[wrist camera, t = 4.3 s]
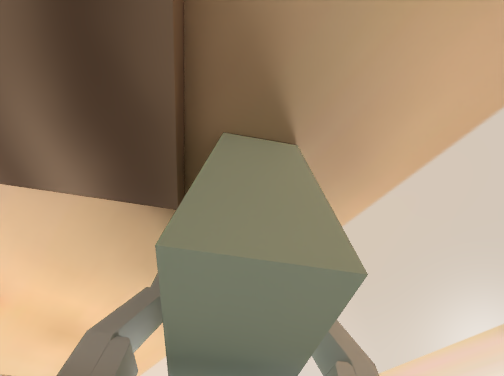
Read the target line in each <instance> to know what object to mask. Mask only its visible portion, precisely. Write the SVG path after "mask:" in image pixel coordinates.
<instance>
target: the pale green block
mask: <svg viewBox="0 0 504 376" xmlns="http://www.w3.org/2000/svg"><path fill="white" fill-rule="evenodd" d="M155 247H156V257H157V267H158V277H159V287H160V297H161V307H162V317H163V327H164V336H165V346H166V356H167V365H168V376H298V374H299V373H300V371H301V370H302V368H303V367H304V366H305V364H306V363H307V361H308V360H309V358H310V357H311V356H312V354H313V353H314V351H315V350H316V348H317V347H318V345H319V344H320V343H321V341H322V340H323V338H324V337H325V335H326V334H327V333H328V331H329V330H330V328H331V327H332V325H333V324H334V322H335V321H336V320H337V318H338V316H339V315H340V314H341V312H342V311H343V309H344V308H345V307H346V305H347V304H348V302H349V301H350V300H351V298H352V297H353V295H354V294H355V292H356V291H357V289H358V288H359V287H360V285H361V284H362V282H363V281H364V279H365V278H366V277H367V275H368V274H367V272H366V270H365V269H364V267H363V265H362V263H361V261H360V259H359V258H358V256H357V254H356V252H355V250H354V248H353V246H352V245H351V243H350V241H349V239H348V237H347V235H346V234H345V232H344V231H343V228H342V226H341V224H340V223H339V221H338V219H337V217H336V215H335V213H334V212H333V210H332V208H331V206H330V204H329V202H328V201H327V199H326V197H325V195H324V193H323V191H322V190H321V188H320V186H319V184H318V182H317V180H316V179H315V177H314V175H313V173H312V171H311V169H310V168H309V166H308V164H307V162H306V160H305V158H304V157H303V155H302V153H301V151H300V149H299V147H298V146H297V145H293V144H287V143H281V142H275V141H270V140H264V139H258V138H252V137H247V136H241V135H235V134H229V133H224V132H223V134H222V136H221V137H220V139H219V141H218V142H217V144H216V145H215V147H214V149H213V150H212V152H211V154H210V155H209V157H208V159H207V160H206V162H205V164H204V165H203V167H202V169H201V170H200V172H199V174H198V175H197V177H196V179H195V180H194V182H193V183H192V185H191V187H190V188H189V190H188V192H187V193H186V195H185V197H184V198H183V200H182V202H181V203H180V205H179V207H178V208H177V210H176V212H175V213H174V215H173V217H172V218H171V220H170V221H169V223H168V225H167V226H166V228H165V230H164V231H163V233H162V235H161V236H160V238H159V240H158V241H157V243H156V245H155Z"/></svg>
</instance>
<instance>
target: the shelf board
mask: <svg viewBox="0 0 504 376" xmlns="http://www.w3.org/2000/svg"><path fill="white" fill-rule="evenodd" d="M0 184H5V185H12V186H19V187H26V188H32V189H39V190H46V191H53V192H60V193H66V194H73V195H80V196H87V197H94V198H100V199H107V200H114V201H121V202H128V203H134V204H141V205H148V206H155V207H162V208H168V209H175V210H177V208H178V207H179V205H180V203H181V202H182V200H183V198H184V0H0Z"/></svg>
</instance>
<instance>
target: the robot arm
mask: <svg viewBox="0 0 504 376" xmlns="http://www.w3.org/2000/svg"><path fill="white" fill-rule="evenodd" d="M162 322H163V317H162V307H161V297H160V287H159V277H158V273H157V275H156V277H155V279H154V281H153V283H152V285H151V287H146V288H145V289H143V290H142V291H141V292H139V293H138V294H137V295H135V296H134V297H132V298H131V299H130V300H128V301H127V302H126V303H124V304H123V305H122V306H120V307H119V308H118V309H116V310H115V311H113V312H112V313H111V314H109V315H108V316H107V317H105V318H104V319H103V320H101V321H100V322H99V323H97V324H96V325H94V326H93V327H92V328H90V329H89V330H88V331H86V333H85V334H84V336H83V337H82V339H81V340H80V342H79V343H78V345H77V346H76V348H75V349H74V351H73V352H72V354H71V355H70V357H69V358H68V360H67V361H66V362H65V364H64V365H63V367H62V368H61V370H60V371H59V373H58V374H57V376H136V375H137V373H138V368H137V364H136V361H135V357H134V352H135V351H136V350H137V349H138V348H139V347H140V346H141V345H142V343H143V342H144V341H145V340H146V339H147V338H148V337H149V336H150V335H151V334H152V333H153V332H154V331H155V330H156V329H157V328H158V327H159V326H160V324H161V323H162ZM312 357H313V358H314V360H315V362H316V364H317V365H318V367H319V369H320V371H321V372H322V374H323V376H379V374H378V371H377V369H376V366H375V364H374V363H373V362H372V361H371V359H370V358H369V357H368V356H367V355H366V354H365V352H364V351H363V350H362V349H361V348H360V346H359V345H358V344H357V343H356V342H355V341H354V339H353V338H352V337H351V336H350V335H349V334H348V332H347V331H346V330H345V329H344V328H343V326H342V325H341V324H340V323H339V322H338V321H337V320H336V321H335V322H334V324H333V325H332V327H331V328H330V330H329V331H328V333H327V334H326V335H325V337H324V338H323V340H322V341H321V343H320V344H319V345H318V347H317V348H316V350H315V351H314V353H313V354H312ZM0 376H10V375H0Z"/></svg>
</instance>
